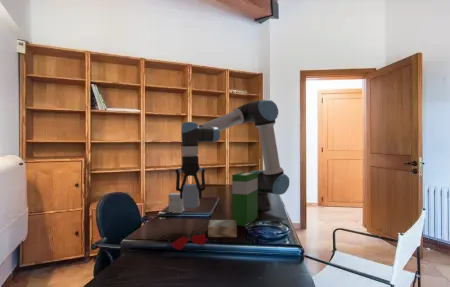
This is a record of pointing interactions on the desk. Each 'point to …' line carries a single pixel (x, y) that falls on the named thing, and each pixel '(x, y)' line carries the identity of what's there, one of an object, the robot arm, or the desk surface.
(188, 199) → the block
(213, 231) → the plinth
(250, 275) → the desk surface
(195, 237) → the glasses
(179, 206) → the small box
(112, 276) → the desk surface
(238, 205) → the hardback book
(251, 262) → the desk surface
